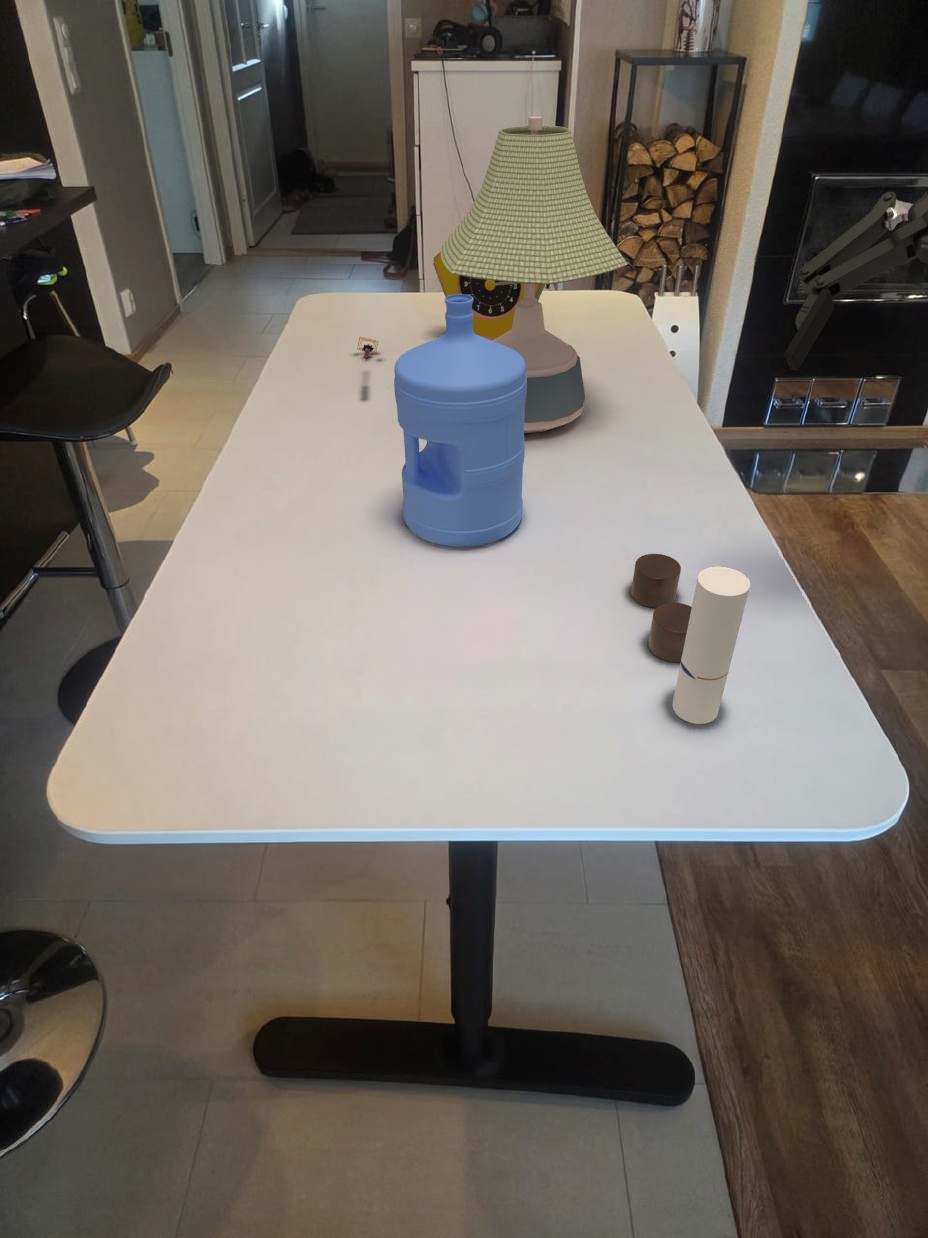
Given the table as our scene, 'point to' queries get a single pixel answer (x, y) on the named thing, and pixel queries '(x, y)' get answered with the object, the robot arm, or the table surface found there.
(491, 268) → the desk lamp
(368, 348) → the framed picture
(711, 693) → the tube
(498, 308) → the yellow clock
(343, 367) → the table surface
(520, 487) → the water jug
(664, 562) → the brown short cylinder
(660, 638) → the disc
